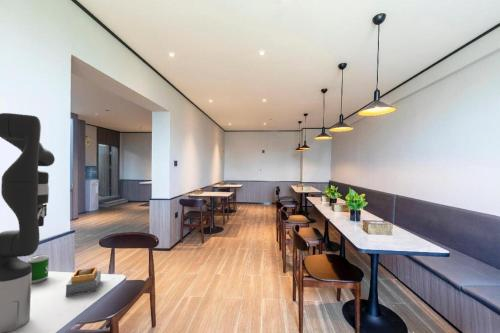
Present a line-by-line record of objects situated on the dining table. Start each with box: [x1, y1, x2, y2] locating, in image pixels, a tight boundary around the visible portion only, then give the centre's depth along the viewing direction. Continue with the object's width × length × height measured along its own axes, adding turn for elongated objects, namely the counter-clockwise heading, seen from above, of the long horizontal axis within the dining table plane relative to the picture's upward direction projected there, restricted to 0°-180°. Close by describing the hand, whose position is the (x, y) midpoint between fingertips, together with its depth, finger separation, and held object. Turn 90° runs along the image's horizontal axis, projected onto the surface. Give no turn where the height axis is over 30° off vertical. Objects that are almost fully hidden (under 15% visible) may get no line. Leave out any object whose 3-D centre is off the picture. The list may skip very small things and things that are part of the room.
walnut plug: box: [79, 268, 91, 276], centre depth 104 cm, size 4×4×8 cm
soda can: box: [27, 253, 50, 284], centre depth 111 cm, size 8×8×12 cm
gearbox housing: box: [65, 267, 102, 297], centre depth 104 cm, size 11×11×8 cm
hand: (36, 228), depth 103 cm, fingers open, 8 cm apart
